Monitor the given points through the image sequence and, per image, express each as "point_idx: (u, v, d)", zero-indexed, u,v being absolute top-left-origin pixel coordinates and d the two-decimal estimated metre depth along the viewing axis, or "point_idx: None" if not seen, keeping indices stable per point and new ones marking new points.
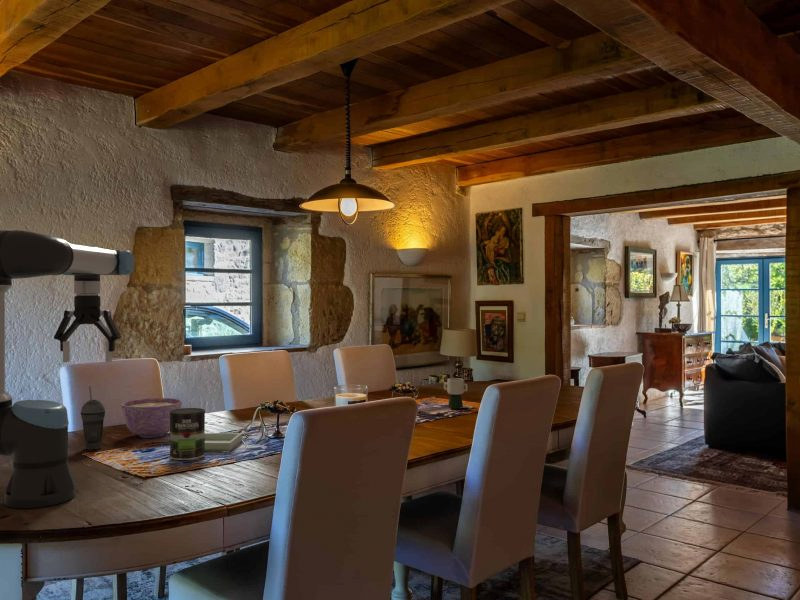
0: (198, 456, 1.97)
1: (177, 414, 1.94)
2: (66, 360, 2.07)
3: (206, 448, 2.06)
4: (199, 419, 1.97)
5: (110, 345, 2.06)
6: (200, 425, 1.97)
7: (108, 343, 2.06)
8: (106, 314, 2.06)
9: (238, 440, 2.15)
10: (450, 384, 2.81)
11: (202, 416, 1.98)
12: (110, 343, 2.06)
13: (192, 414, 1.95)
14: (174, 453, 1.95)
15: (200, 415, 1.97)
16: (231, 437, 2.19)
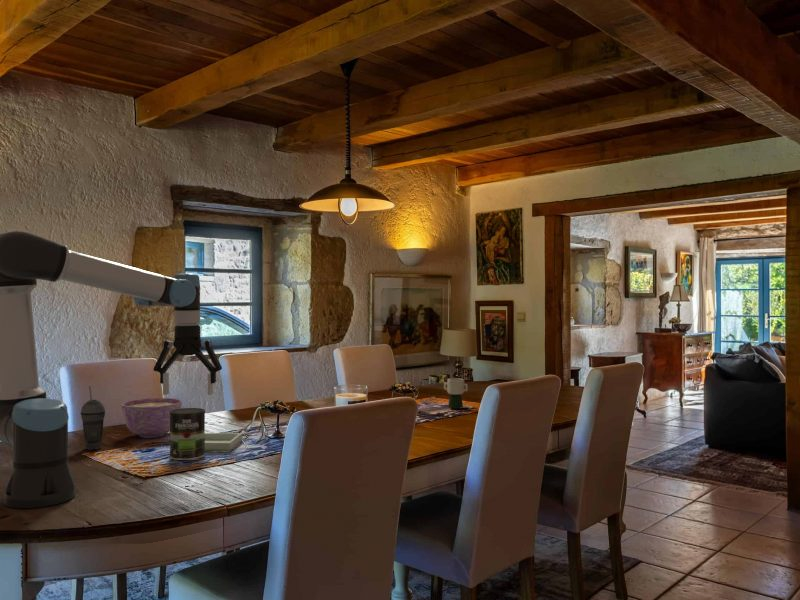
0: (198, 456, 1.97)
1: (177, 414, 1.94)
2: (166, 392, 1.99)
3: (206, 448, 2.06)
4: (199, 419, 1.97)
5: (211, 376, 1.98)
6: (200, 425, 1.97)
7: (210, 375, 1.98)
8: (208, 345, 1.98)
9: (238, 440, 2.15)
10: (450, 384, 2.81)
11: (202, 416, 1.98)
12: (212, 375, 1.98)
13: (192, 414, 1.95)
14: (174, 453, 1.95)
15: (200, 415, 1.97)
16: (231, 437, 2.19)
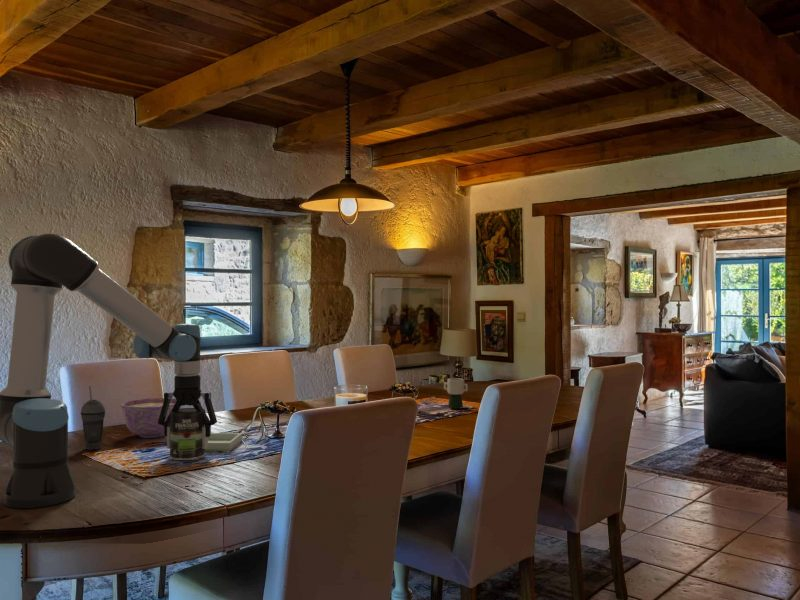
0: (198, 456, 1.97)
1: (177, 414, 1.94)
2: None
3: (206, 448, 2.06)
4: (199, 419, 1.97)
5: (206, 430, 1.98)
6: (200, 425, 1.97)
7: (205, 428, 1.98)
8: (207, 397, 1.98)
9: (238, 440, 2.15)
10: (450, 384, 2.81)
11: None
12: (207, 428, 1.99)
13: (192, 414, 1.95)
14: (174, 453, 1.95)
15: (200, 415, 1.97)
16: (231, 437, 2.19)
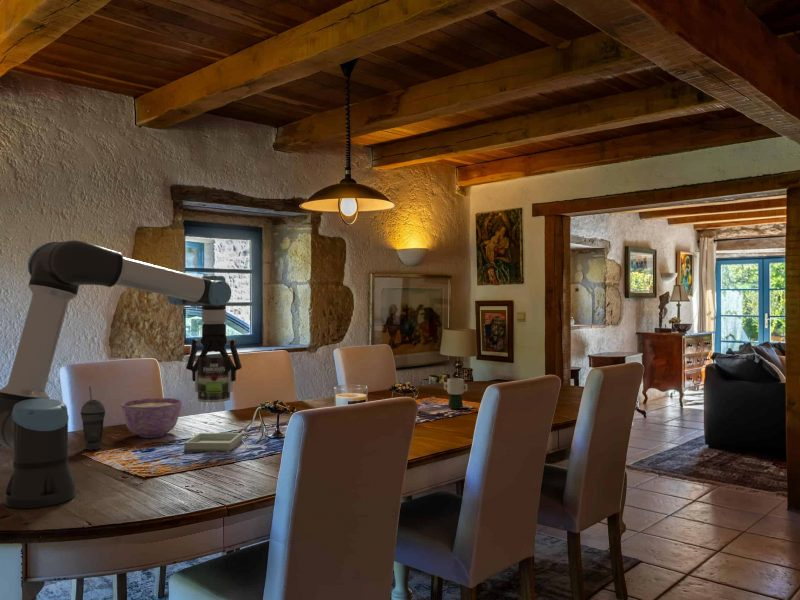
0: (224, 398, 2.10)
1: (205, 359, 2.08)
2: None
3: (206, 448, 2.06)
4: (225, 364, 2.10)
5: (232, 375, 2.12)
6: (226, 369, 2.11)
7: (230, 373, 2.11)
8: (232, 344, 2.11)
9: (238, 440, 2.15)
10: (450, 384, 2.81)
11: None
12: (232, 373, 2.12)
13: (219, 359, 2.08)
14: (202, 395, 2.08)
15: (226, 360, 2.11)
16: (231, 437, 2.19)
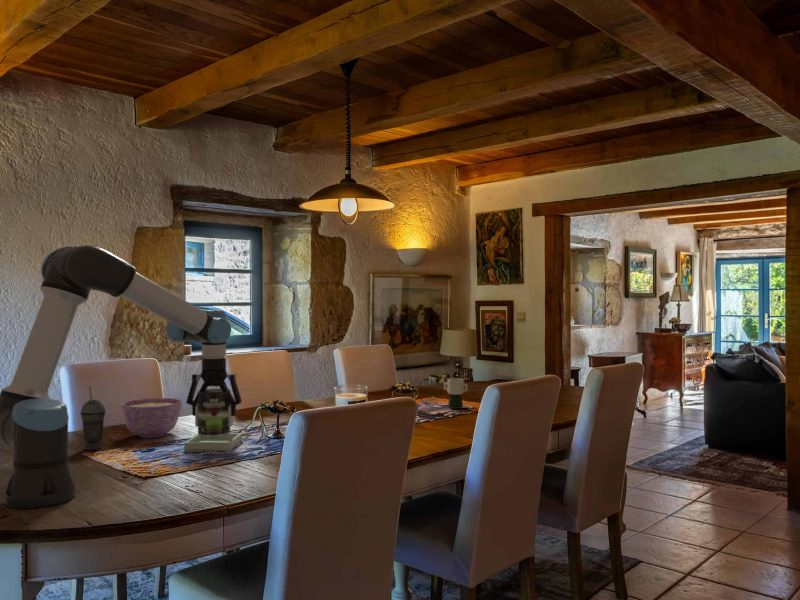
0: (224, 433, 2.10)
1: (205, 394, 2.08)
2: None
3: (206, 448, 2.06)
4: (225, 399, 2.10)
5: (232, 409, 2.12)
6: (226, 404, 2.11)
7: (230, 408, 2.12)
8: (232, 378, 2.11)
9: (238, 440, 2.15)
10: (450, 384, 2.81)
11: None
12: (232, 408, 2.12)
13: (219, 394, 2.08)
14: (202, 431, 2.08)
15: (226, 395, 2.11)
16: (231, 437, 2.19)
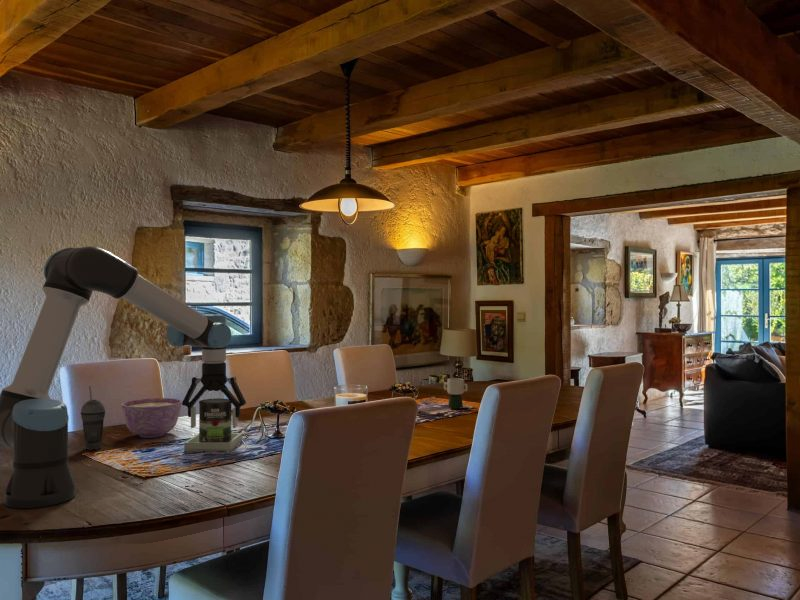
0: None
1: (206, 404, 2.08)
2: (193, 425, 2.12)
3: (206, 448, 2.06)
4: (226, 409, 2.10)
5: (236, 411, 2.12)
6: (227, 414, 2.11)
7: (235, 409, 2.11)
8: (233, 381, 2.11)
9: (238, 440, 2.15)
10: (450, 384, 2.81)
11: (229, 406, 2.12)
12: (236, 409, 2.12)
13: (220, 404, 2.08)
14: (203, 440, 2.08)
15: (227, 405, 2.11)
16: (231, 437, 2.19)
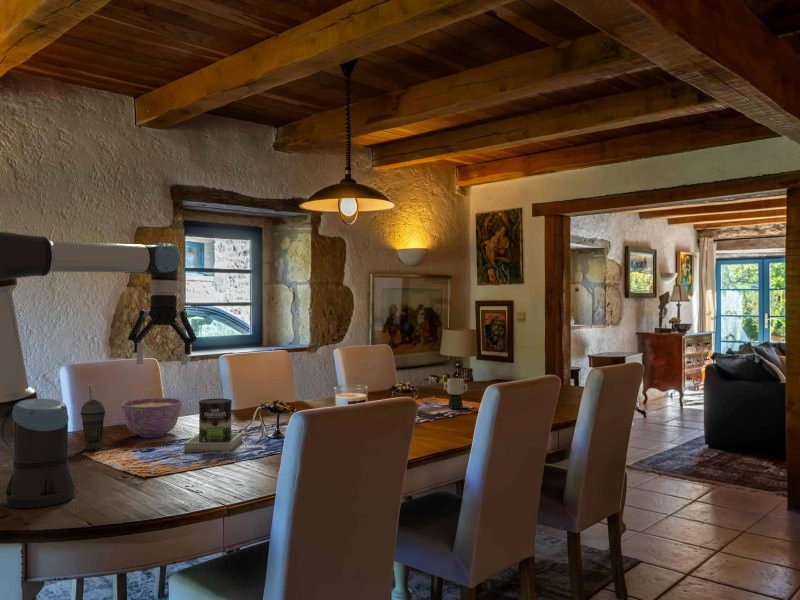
0: None
1: (206, 404, 2.08)
2: (140, 362, 1.98)
3: (206, 448, 2.06)
4: (226, 409, 2.10)
5: (186, 347, 1.98)
6: (227, 414, 2.11)
7: (184, 345, 1.98)
8: (183, 315, 1.98)
9: (238, 440, 2.15)
10: (450, 384, 2.81)
11: (229, 406, 2.12)
12: (186, 345, 1.98)
13: (220, 404, 2.08)
14: (203, 440, 2.08)
15: (227, 405, 2.11)
16: (231, 437, 2.19)
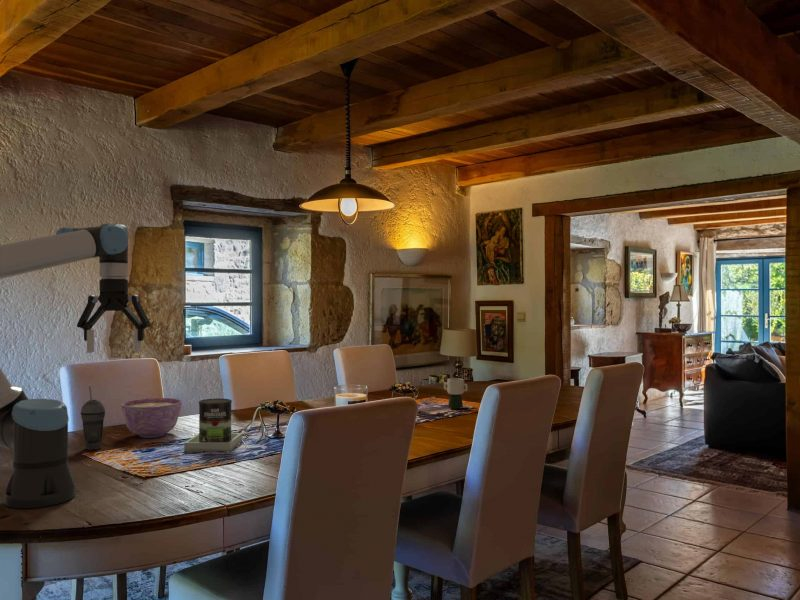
0: None
1: (206, 404, 2.08)
2: (90, 350, 1.87)
3: (206, 448, 2.06)
4: (226, 409, 2.10)
5: (139, 333, 1.87)
6: (227, 414, 2.11)
7: (137, 332, 1.86)
8: (135, 299, 1.86)
9: (238, 440, 2.15)
10: (450, 384, 2.81)
11: (229, 406, 2.12)
12: (139, 332, 1.87)
13: (220, 404, 2.08)
14: (203, 440, 2.08)
15: (227, 405, 2.11)
16: (231, 437, 2.19)
